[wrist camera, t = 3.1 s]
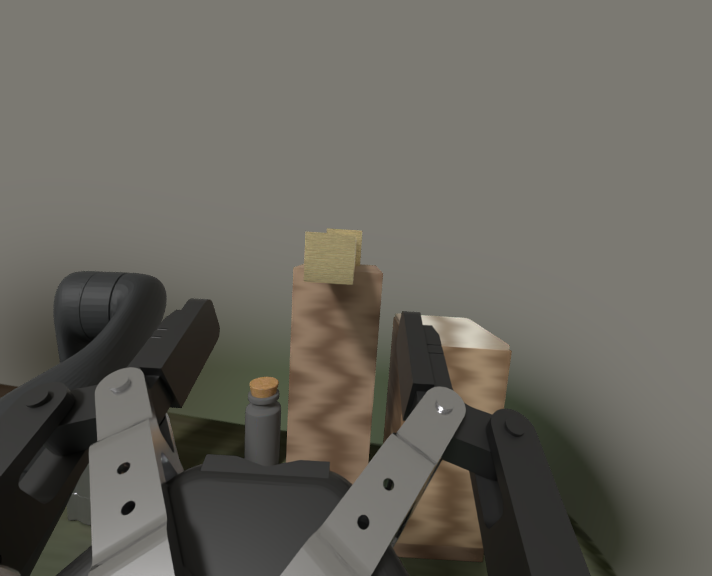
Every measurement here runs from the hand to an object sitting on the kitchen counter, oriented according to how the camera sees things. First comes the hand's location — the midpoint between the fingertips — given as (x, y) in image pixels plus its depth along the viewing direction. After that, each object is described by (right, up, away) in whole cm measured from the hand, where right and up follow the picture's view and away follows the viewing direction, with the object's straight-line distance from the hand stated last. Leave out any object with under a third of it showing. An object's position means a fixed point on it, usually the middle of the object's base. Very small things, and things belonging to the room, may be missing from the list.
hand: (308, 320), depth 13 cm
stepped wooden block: (+5, -32, +33) cm, 46 cm away
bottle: (-14, -30, +41) cm, 53 cm away
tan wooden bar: (0, +3, +22) cm, 23 cm away
